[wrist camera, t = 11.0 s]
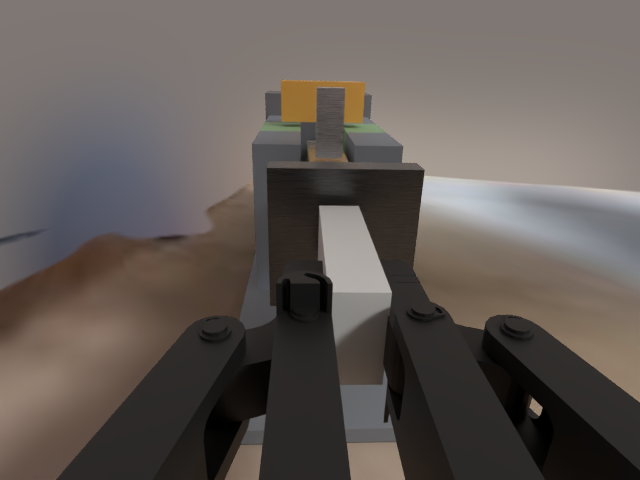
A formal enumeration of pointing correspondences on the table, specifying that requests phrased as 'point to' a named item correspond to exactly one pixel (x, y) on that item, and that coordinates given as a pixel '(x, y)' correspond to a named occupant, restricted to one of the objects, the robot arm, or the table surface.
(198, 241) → the table surface
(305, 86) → the orange rectangular plank
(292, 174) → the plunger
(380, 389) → the grey stepped block
